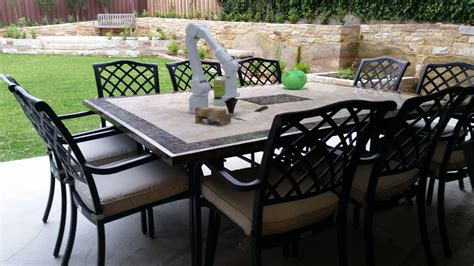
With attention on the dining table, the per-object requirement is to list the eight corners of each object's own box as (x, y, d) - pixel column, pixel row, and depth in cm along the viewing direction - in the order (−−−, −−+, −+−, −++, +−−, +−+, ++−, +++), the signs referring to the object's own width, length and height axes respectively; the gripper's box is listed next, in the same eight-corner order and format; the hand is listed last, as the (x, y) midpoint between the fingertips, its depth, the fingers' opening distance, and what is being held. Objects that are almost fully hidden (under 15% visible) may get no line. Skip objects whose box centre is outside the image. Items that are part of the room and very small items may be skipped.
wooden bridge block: (195, 122, 178) (195, 107, 176) (205, 119, 185) (204, 104, 183) (222, 126, 172) (221, 111, 170) (230, 122, 179) (230, 107, 177)
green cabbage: (307, 87, 283) (308, 67, 279) (305, 91, 267) (306, 69, 263) (282, 86, 287) (282, 66, 283) (279, 90, 271) (280, 69, 267)
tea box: (215, 101, 231) (214, 76, 227) (232, 101, 231) (232, 76, 228) (213, 106, 217) (213, 79, 213) (231, 106, 217) (231, 79, 213)
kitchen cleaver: (253, 120, 181) (234, 115, 185) (252, 124, 181) (234, 119, 185) (278, 108, 208) (261, 104, 212) (278, 111, 208) (261, 108, 212)
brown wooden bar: (200, 123, 179) (200, 118, 178) (219, 117, 190) (219, 113, 189) (207, 124, 177) (207, 119, 176) (226, 119, 188) (226, 114, 187)
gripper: (230, 88, 181) (230, 117, 184) (245, 84, 193) (244, 111, 196) (217, 87, 184) (217, 115, 187) (232, 83, 196) (232, 110, 200)
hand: (230, 113), depth 192 cm, fingers closed
